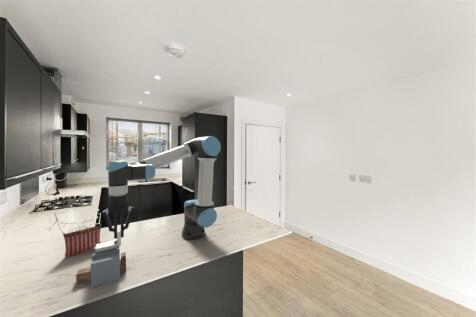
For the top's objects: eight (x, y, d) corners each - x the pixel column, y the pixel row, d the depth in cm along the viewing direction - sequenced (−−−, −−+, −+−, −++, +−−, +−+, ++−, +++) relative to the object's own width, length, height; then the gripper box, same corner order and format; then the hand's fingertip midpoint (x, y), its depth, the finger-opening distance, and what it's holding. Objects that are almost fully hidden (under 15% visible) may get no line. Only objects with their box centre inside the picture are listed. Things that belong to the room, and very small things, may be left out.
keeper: (117, 247, 92) (117, 237, 92) (117, 251, 87) (117, 242, 87) (96, 251, 87) (96, 241, 87) (95, 256, 83) (95, 246, 83)
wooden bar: (126, 266, 93) (125, 251, 93) (126, 270, 90) (125, 255, 90) (78, 278, 84) (77, 263, 84) (76, 284, 81) (75, 267, 80)
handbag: (52, 260, 98) (50, 211, 97) (101, 244, 114) (100, 202, 113) (54, 265, 94) (53, 214, 92) (105, 248, 110) (104, 205, 109)
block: (119, 261, 97) (119, 239, 97) (120, 279, 84) (119, 253, 83) (95, 267, 92) (94, 244, 91) (91, 288, 78) (90, 260, 78)
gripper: (133, 191, 96) (134, 238, 96) (101, 194, 89) (102, 244, 90) (135, 194, 89) (135, 244, 90) (100, 197, 82) (101, 251, 83)
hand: (119, 244), depth 90 cm, fingers closed
